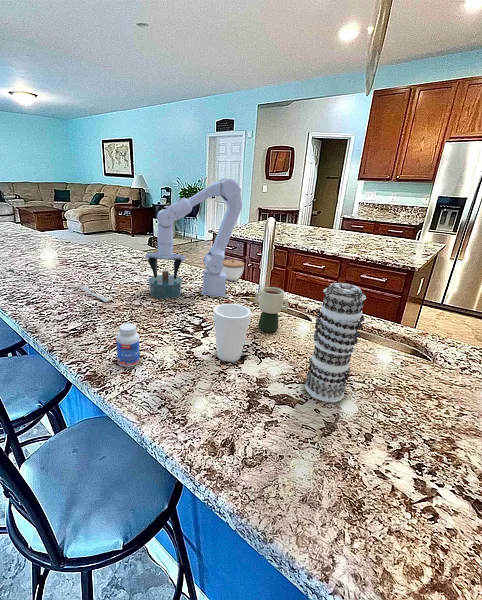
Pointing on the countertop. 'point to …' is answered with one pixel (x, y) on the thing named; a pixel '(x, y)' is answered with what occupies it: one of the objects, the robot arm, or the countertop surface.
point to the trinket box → (233, 269)
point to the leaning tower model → (334, 341)
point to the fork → (94, 294)
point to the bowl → (164, 291)
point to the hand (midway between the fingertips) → (165, 277)
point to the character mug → (270, 307)
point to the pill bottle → (127, 345)
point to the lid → (165, 279)
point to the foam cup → (230, 330)
